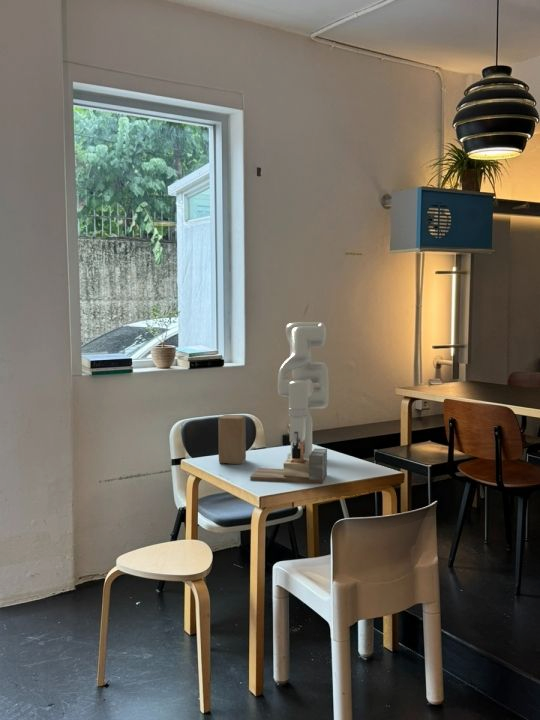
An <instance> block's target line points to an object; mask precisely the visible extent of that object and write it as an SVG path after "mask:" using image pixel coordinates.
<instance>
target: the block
mask: <svg viewBox="0 0 540 720" xmlns="http://www.w3.org/2000/svg"><path fill="white" fill-rule="evenodd" d="M246 420H247V419H246V415H244V414H223V415H222V416H219V418H218V422H217V424H218V463H219V464H221V463H228V464H227V465H241V464H243V462H244V461H246V459H247V450H246V449H247V445H246V444H247V443H246V442H247V441H246V440H247V438H246V435H247V432H246V430H247V429H246V428H247V426H246V425H247V424H246V423H247V422H246Z"/></svg>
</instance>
